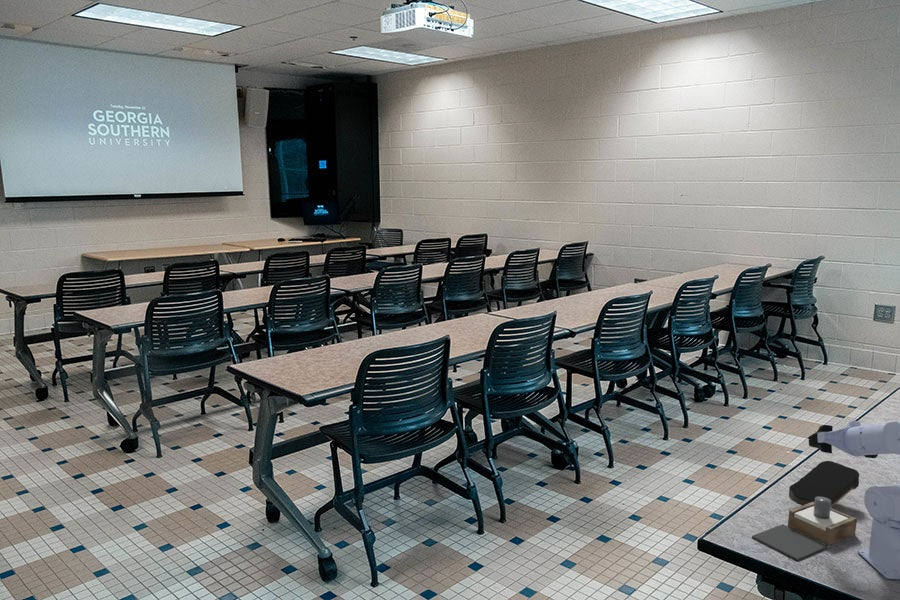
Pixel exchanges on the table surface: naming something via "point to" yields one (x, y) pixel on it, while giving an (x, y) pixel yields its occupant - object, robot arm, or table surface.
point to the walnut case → (827, 537)
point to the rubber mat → (790, 542)
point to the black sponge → (825, 483)
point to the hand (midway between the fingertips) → (826, 443)
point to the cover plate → (818, 521)
